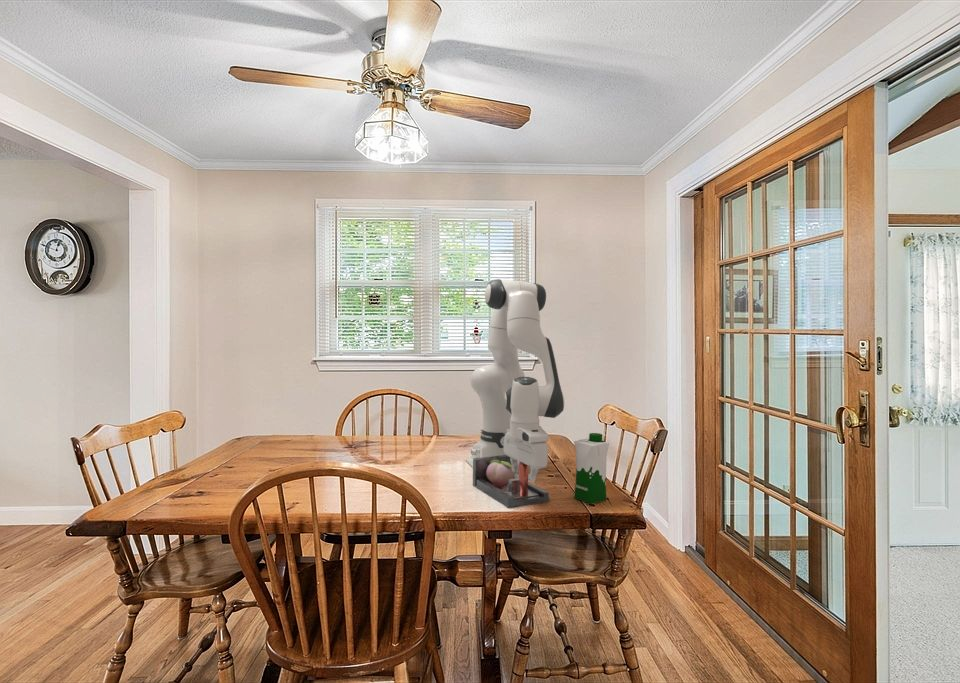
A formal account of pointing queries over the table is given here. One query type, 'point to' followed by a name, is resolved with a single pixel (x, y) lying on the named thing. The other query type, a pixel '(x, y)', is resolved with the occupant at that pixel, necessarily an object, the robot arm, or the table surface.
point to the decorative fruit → (499, 473)
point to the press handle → (521, 484)
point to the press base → (497, 494)
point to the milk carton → (591, 469)
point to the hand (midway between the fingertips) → (523, 476)
